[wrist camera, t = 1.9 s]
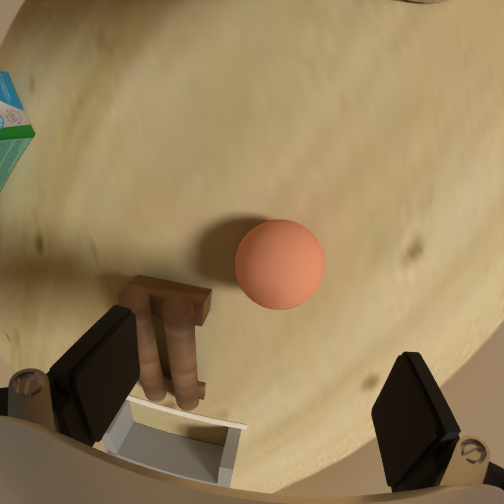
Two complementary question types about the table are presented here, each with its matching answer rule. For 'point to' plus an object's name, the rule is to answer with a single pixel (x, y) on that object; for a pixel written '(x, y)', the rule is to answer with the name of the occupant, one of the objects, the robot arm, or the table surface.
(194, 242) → the table surface
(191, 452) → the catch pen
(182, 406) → the brown piece
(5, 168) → the milk carton
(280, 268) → the ball
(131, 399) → the line
